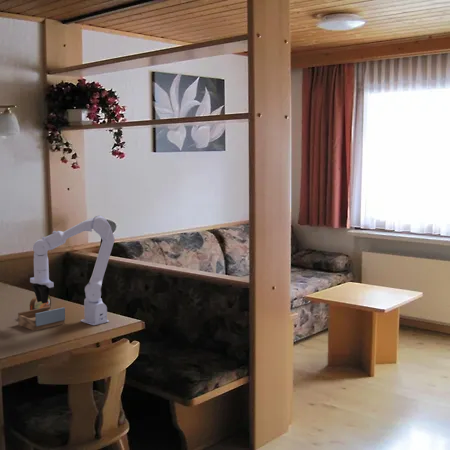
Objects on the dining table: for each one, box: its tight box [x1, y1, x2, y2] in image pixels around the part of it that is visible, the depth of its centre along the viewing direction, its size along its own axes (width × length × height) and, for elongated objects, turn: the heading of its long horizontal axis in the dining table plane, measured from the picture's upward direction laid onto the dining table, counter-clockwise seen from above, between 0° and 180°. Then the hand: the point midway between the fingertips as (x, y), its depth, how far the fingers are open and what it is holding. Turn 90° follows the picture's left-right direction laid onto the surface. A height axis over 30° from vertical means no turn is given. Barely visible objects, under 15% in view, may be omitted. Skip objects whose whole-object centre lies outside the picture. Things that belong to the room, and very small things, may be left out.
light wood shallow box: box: [17, 307, 66, 332], centre depth 255 cm, size 12×14×5 cm
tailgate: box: [35, 306, 66, 327], centre depth 251 cm, size 1×13×5 cm, turn 138°
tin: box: [29, 294, 52, 311], centre depth 270 cm, size 15×3×8 cm, turn 168°
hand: (42, 302), depth 254 cm, fingers open, 3 cm apart
